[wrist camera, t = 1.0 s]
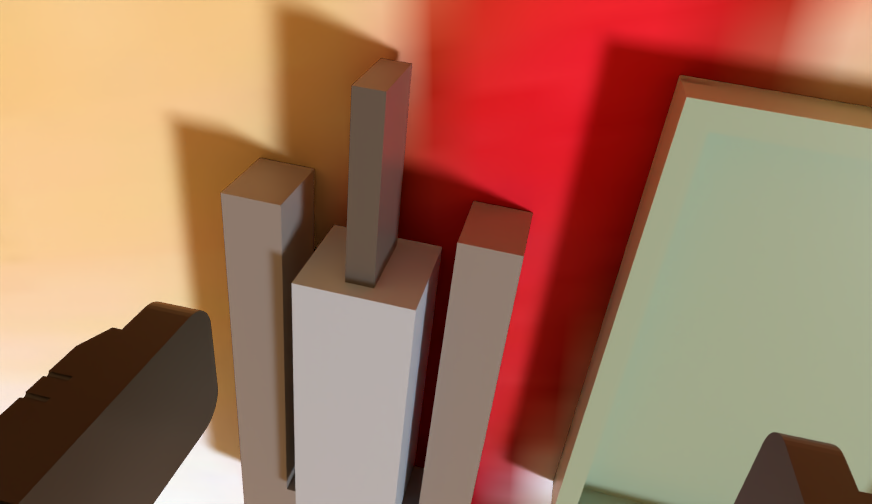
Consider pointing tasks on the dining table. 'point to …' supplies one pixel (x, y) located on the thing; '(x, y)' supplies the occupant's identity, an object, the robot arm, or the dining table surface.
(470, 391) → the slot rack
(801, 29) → the dining table surface
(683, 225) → the tray
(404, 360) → the tall grey bar
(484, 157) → the dining table surface
